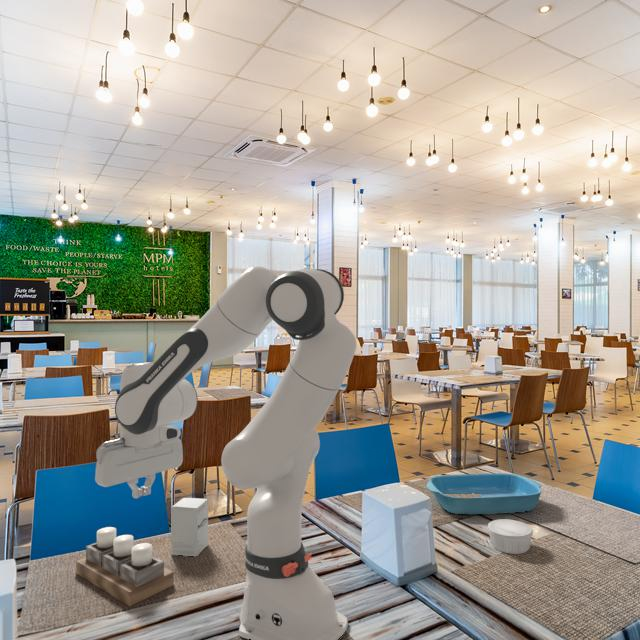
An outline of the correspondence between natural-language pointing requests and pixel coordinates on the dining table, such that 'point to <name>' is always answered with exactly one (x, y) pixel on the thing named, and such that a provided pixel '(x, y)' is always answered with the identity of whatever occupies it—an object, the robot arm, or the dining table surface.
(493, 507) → the casserole dish
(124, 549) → the knob middle
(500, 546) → the ramekin
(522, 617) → the dining table surface
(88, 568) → the knob mount
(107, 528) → the knob far
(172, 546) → the supplement box
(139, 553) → the knob near
